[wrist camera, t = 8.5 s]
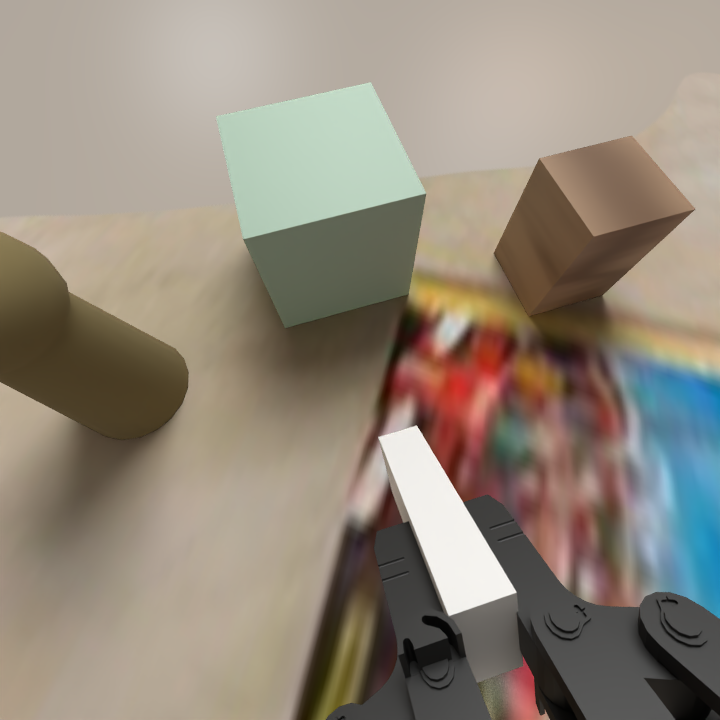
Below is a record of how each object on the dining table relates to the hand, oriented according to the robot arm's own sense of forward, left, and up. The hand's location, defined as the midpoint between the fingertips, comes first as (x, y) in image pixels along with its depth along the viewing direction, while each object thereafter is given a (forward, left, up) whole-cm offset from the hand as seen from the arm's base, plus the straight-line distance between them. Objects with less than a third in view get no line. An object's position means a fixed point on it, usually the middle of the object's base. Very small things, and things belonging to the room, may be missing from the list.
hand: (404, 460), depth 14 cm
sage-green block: (0, -14, -5) cm, 15 cm away
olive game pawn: (+13, -9, -6) cm, 16 cm away
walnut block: (-13, -9, -5) cm, 17 cm away
